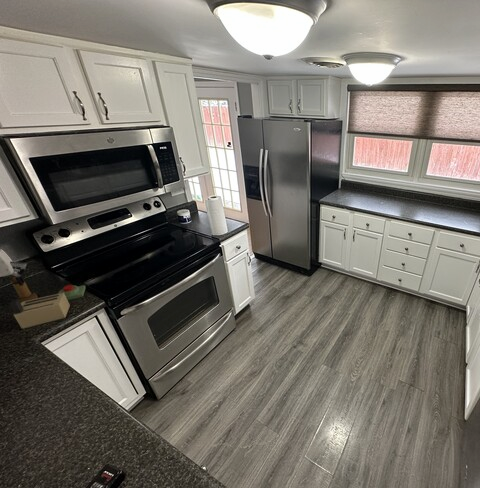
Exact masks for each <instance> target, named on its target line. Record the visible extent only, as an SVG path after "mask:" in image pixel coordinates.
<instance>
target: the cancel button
mask: <svg viewBox="0 0 480 488" xmlns="http://www.w3.org/2000/svg"><path fill="white" fill-rule="evenodd" d="M73 286H74V285H72V284H68V285H65V286H63V288H62V289H64V292H68V291H71V290H73V289H74V287H73Z"/></svg>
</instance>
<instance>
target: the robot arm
mask: <svg viewBox="0 0 480 488" xmlns="http://www.w3.org/2000/svg"><path fill="white" fill-rule="evenodd" d="M27 266H28V263H25V262H18V261H13V260H12V258H11V257H10V256H9V255H8V254H7V252H6V251H4V250H3V249H2V248H0V278H3V277H7V276H11V275H14V276H16V280H17V282H18V283H19V285H20V286H22V285H23V284H24V283H26V278H25V277H24V275H23V274H24V272H25V271H26V269H27ZM18 267H19V268H20V269H17V268H18Z"/></svg>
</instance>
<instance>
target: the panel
mask: <svg viewBox="0 0 480 488" xmlns="http://www.w3.org/2000/svg"><path fill="white" fill-rule="evenodd" d="M73 287H74V289H73V290H71V291H68V292H64V289H63V288H62V289H60V290H59V291H58V293H57V294H60V293H64V294H65V296H66V298H67V300H68V301H71V300H75V299H79V298H84V294H85V291H86V289H87V288H86V285H85V284H83V285H79V286H77V285H73Z"/></svg>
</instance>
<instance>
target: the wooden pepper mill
mask: <svg viewBox="0 0 480 488" xmlns="http://www.w3.org/2000/svg"><path fill="white" fill-rule="evenodd" d="M10 276H11V280H12V281H13V282H12V283H11V285H12V286H13V288H14V290H15V291H16V293H17V295H18V297H17V298H16V300H19V302H20V303H21V302H24V301H28V300H33V299H37V298H39V296H38V295H37V294H36V293H35V292H31V291H30V289H29V287H28V284H27V283H26V282H25V283H24V284H23V285H22V286H20V285H19V283H18V282H17V280H16V276H14V275H10Z"/></svg>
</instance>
